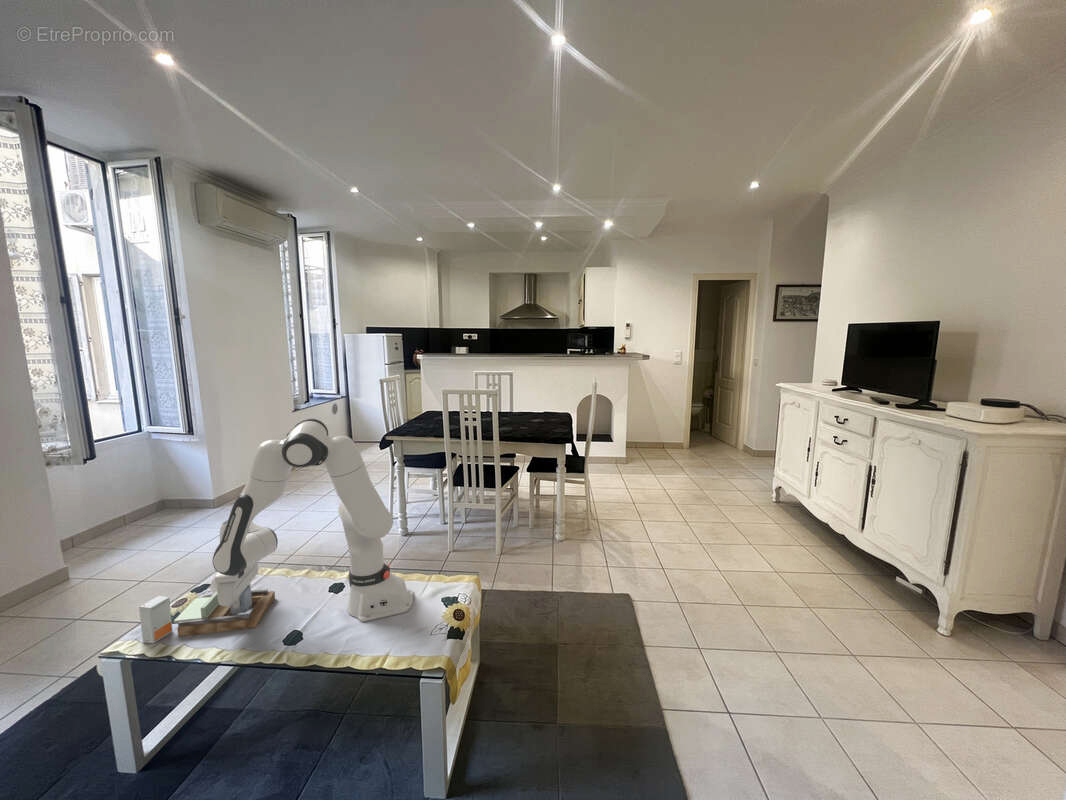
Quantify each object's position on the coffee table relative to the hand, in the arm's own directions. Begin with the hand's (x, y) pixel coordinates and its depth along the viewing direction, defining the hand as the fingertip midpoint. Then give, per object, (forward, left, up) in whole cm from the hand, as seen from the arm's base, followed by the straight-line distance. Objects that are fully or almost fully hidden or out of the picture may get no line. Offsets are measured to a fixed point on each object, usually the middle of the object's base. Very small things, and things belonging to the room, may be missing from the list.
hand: (241, 601), depth 142 cm
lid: (+12, 0, -2) cm, 13 cm away
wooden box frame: (+4, 0, -5) cm, 6 cm away
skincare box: (+21, +7, -5) cm, 23 cm away
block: (0, 0, -3) cm, 3 cm away
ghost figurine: (+11, -14, -5) cm, 19 cm away
